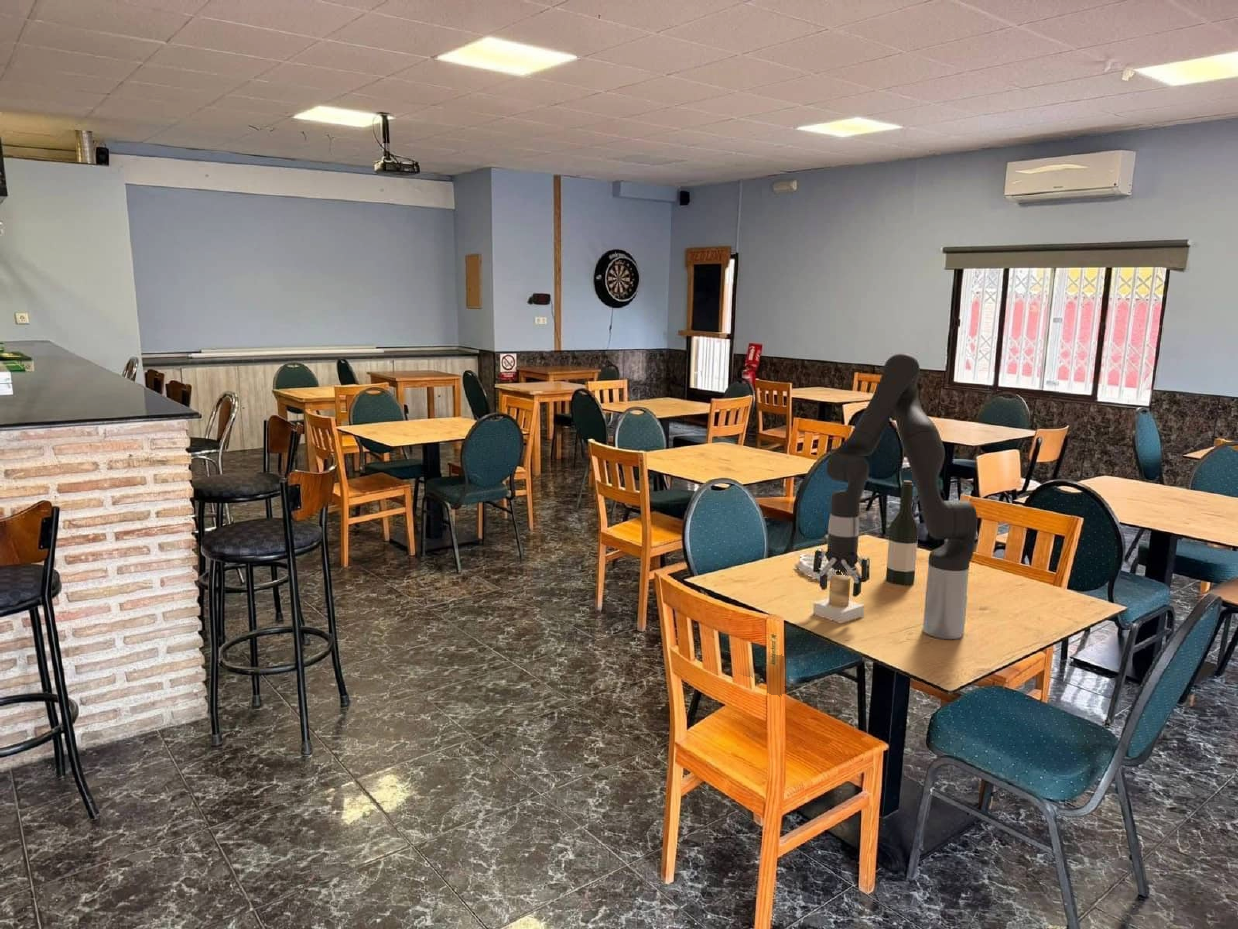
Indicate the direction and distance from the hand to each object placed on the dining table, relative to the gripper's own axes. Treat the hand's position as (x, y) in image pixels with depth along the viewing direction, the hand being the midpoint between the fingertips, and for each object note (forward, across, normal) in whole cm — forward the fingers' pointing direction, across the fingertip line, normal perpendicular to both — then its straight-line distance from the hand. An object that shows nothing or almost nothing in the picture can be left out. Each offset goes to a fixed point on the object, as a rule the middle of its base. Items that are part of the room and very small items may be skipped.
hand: (839, 592), depth 215 cm
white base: (+6, 0, 0) cm, 6 cm away
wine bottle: (+6, -3, -38) cm, 39 cm away
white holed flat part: (+7, +19, -32) cm, 38 cm away
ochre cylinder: (+3, 0, 0) cm, 3 cm away
